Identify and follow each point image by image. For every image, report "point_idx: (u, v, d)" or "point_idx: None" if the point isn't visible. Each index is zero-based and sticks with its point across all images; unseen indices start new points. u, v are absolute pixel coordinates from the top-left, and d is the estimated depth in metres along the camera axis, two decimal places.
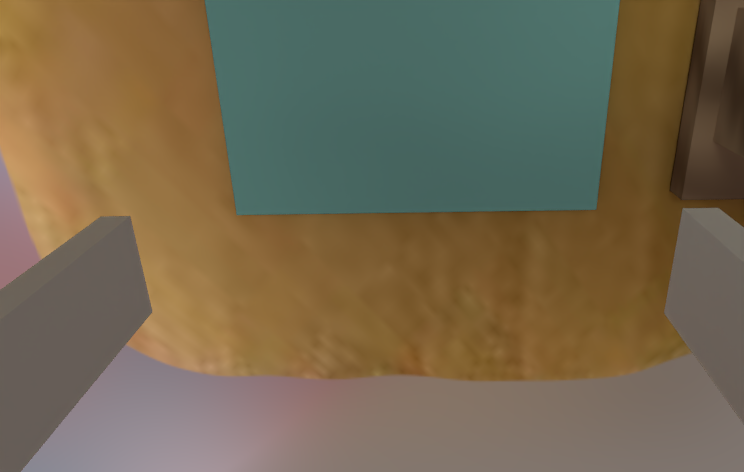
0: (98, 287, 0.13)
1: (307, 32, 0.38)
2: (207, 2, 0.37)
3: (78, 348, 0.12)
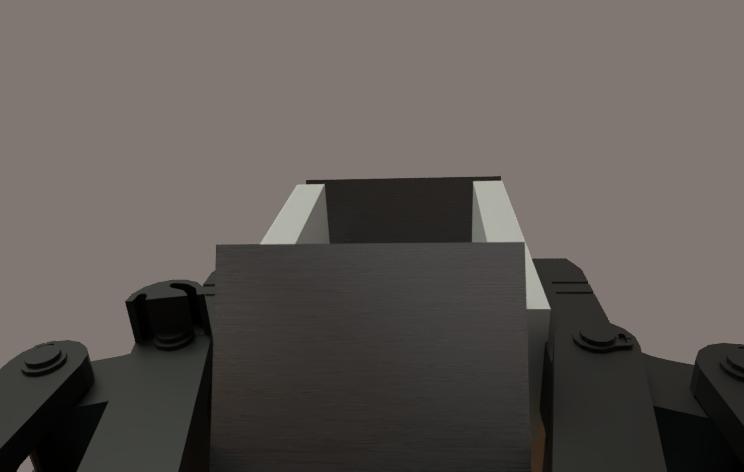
0: None
1: None
2: None
3: None
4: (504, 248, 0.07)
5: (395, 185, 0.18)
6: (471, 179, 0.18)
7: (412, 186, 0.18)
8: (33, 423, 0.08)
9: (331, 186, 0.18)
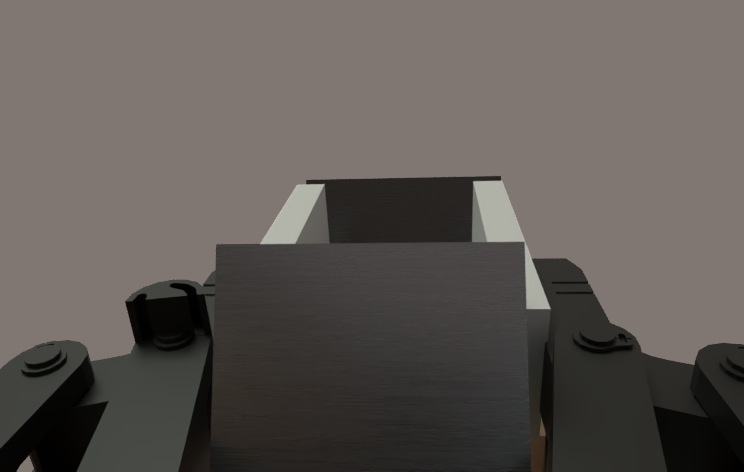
0: None
1: None
2: None
3: None
4: (504, 248, 0.07)
5: (395, 184, 0.18)
6: (471, 179, 0.18)
7: (412, 186, 0.18)
8: (33, 423, 0.08)
9: (331, 186, 0.18)
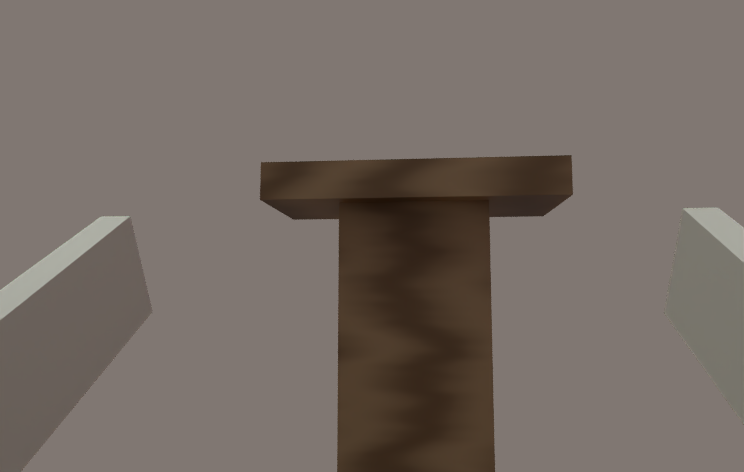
0: (98, 287, 0.13)
1: None
2: None
3: (78, 348, 0.12)
4: None
5: None
6: None
7: None
8: None
9: None
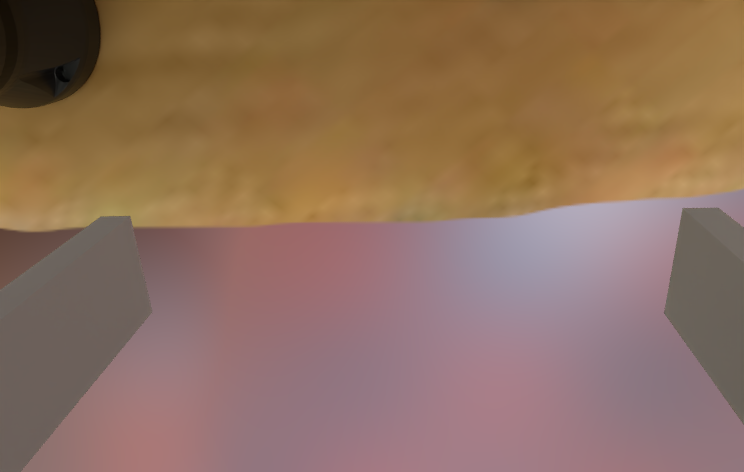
0: (98, 287, 0.13)
1: None
2: None
3: (78, 348, 0.12)
4: None
5: None
6: None
7: None
8: None
9: None
